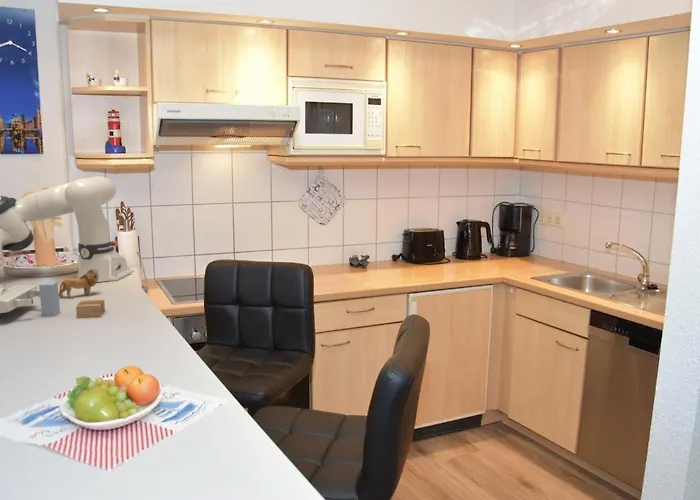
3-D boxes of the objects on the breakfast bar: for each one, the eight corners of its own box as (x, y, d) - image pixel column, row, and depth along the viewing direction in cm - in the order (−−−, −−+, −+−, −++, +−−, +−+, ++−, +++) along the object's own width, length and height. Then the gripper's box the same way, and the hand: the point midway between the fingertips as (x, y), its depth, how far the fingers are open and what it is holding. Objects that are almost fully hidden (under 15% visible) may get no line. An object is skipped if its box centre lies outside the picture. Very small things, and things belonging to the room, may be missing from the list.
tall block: (47, 312, 209) (44, 281, 207) (60, 312, 209) (57, 281, 207) (41, 316, 205) (39, 284, 203) (54, 316, 205) (52, 284, 203)
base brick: (82, 312, 210) (81, 300, 209) (105, 311, 211) (104, 299, 210) (76, 318, 203) (75, 306, 202) (100, 317, 204) (99, 305, 203)
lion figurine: (96, 291, 235) (95, 266, 233) (102, 294, 231) (100, 269, 229) (54, 298, 225) (51, 272, 223) (59, 301, 221) (56, 275, 220)
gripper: (10, 298, 216) (53, 298, 216) (-22, 317, 196) (25, 317, 196) (9, 280, 215) (51, 280, 215) (-25, 296, 194) (23, 296, 195)
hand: (38, 297), depth 205 cm, fingers open, 8 cm apart
